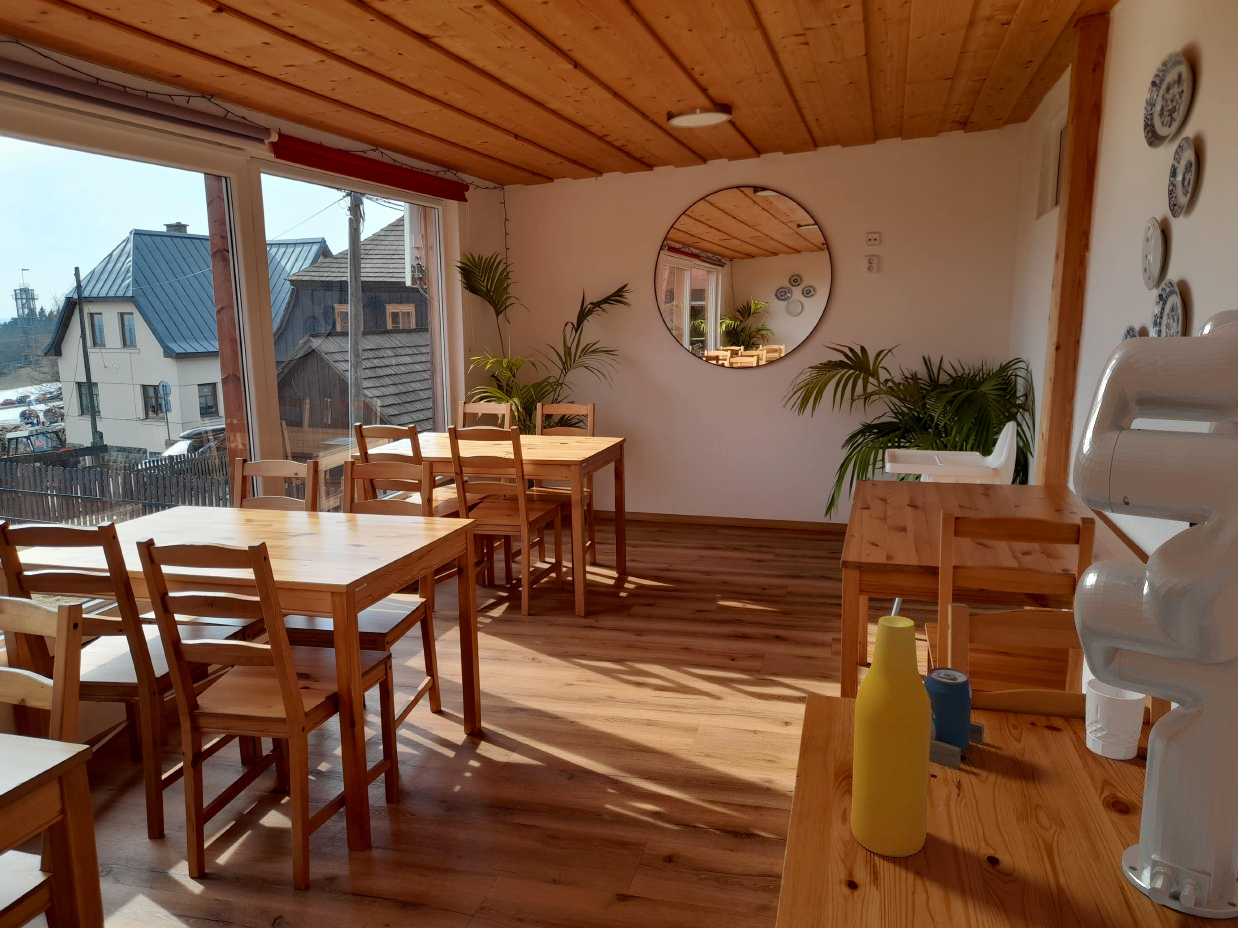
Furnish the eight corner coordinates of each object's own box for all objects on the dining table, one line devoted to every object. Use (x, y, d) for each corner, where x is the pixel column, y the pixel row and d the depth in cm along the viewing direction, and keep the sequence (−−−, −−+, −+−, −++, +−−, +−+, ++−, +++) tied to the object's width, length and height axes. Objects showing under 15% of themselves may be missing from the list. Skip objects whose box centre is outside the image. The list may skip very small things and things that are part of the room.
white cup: (1090, 759, 127) (1095, 696, 125) (1075, 734, 134) (1080, 675, 132) (1148, 764, 125) (1154, 701, 123) (1130, 739, 132) (1135, 679, 131)
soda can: (973, 744, 131) (978, 672, 129) (961, 762, 126) (965, 687, 124) (928, 732, 135) (932, 662, 134) (915, 749, 130) (918, 676, 128)
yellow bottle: (913, 868, 101) (924, 640, 97) (839, 842, 107) (846, 625, 102) (934, 830, 109) (945, 617, 104) (864, 808, 114) (871, 604, 110)
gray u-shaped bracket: (957, 769, 124) (958, 750, 123) (898, 749, 130) (899, 731, 129) (983, 742, 132) (984, 724, 132) (927, 724, 138) (927, 707, 137)
